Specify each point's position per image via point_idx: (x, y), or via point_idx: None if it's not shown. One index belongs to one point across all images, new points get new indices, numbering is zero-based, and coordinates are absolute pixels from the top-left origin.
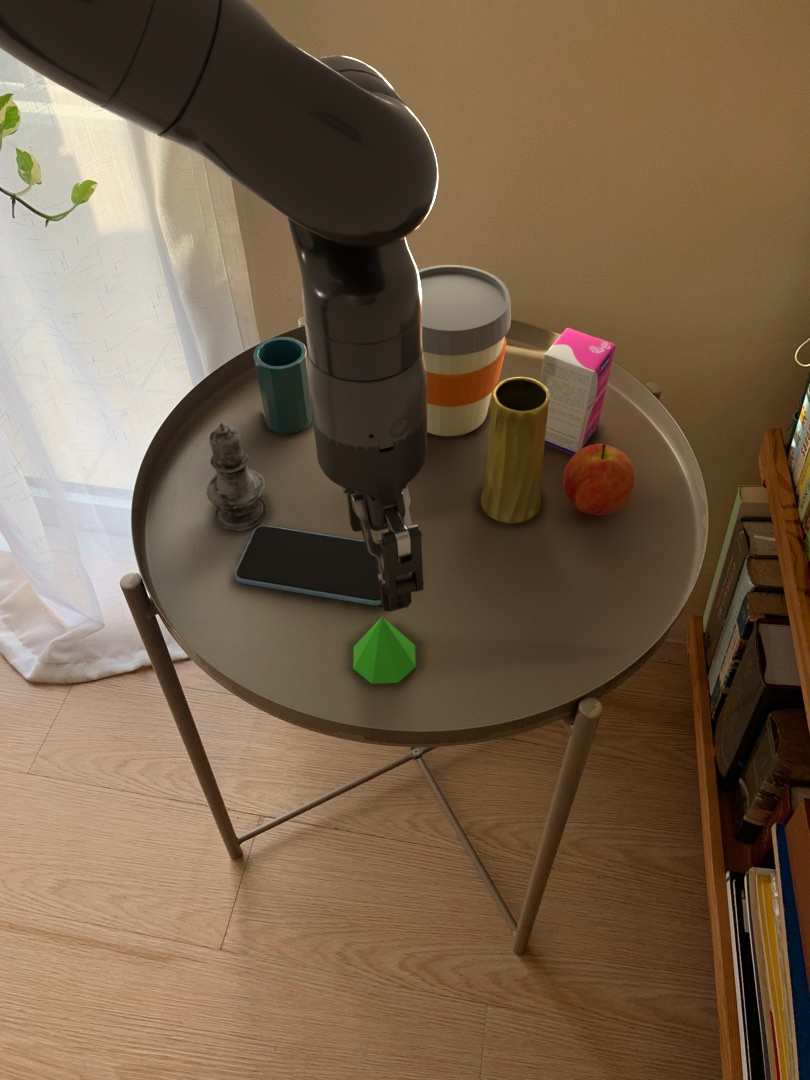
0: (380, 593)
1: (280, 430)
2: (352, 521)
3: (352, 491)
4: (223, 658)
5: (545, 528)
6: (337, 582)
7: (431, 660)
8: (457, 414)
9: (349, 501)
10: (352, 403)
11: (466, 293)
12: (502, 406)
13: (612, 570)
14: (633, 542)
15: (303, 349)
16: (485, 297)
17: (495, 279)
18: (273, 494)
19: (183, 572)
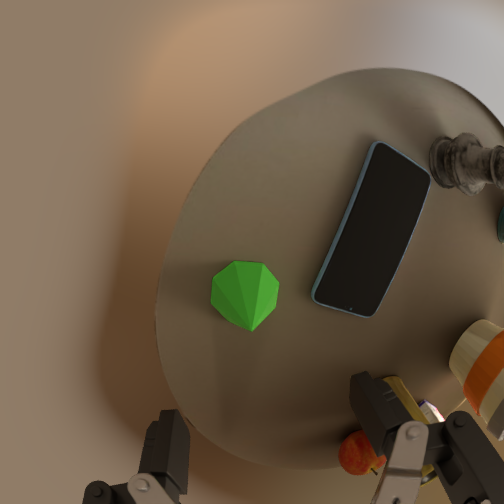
0: (170, 431)
1: (501, 215)
2: (362, 391)
3: (383, 477)
4: (271, 115)
5: (348, 413)
6: (348, 255)
7: (234, 334)
8: (463, 367)
9: (385, 428)
10: None
11: None
12: (431, 470)
13: (296, 443)
14: (315, 451)
15: None
16: None
17: None
18: (457, 197)
19: (389, 91)
